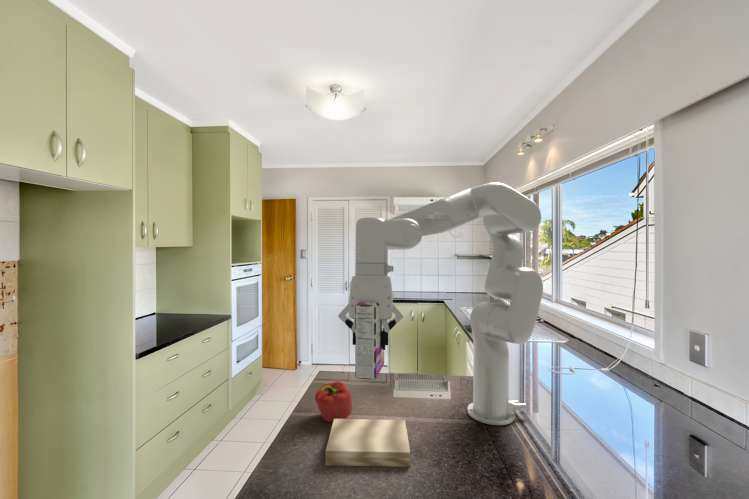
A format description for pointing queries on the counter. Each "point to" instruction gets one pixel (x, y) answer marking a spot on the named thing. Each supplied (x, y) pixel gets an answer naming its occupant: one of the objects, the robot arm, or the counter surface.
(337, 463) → the wavy beige tile
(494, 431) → the counter surface
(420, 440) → the counter surface
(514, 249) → the robot arm
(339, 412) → the vegetable
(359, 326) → the candy bar box
